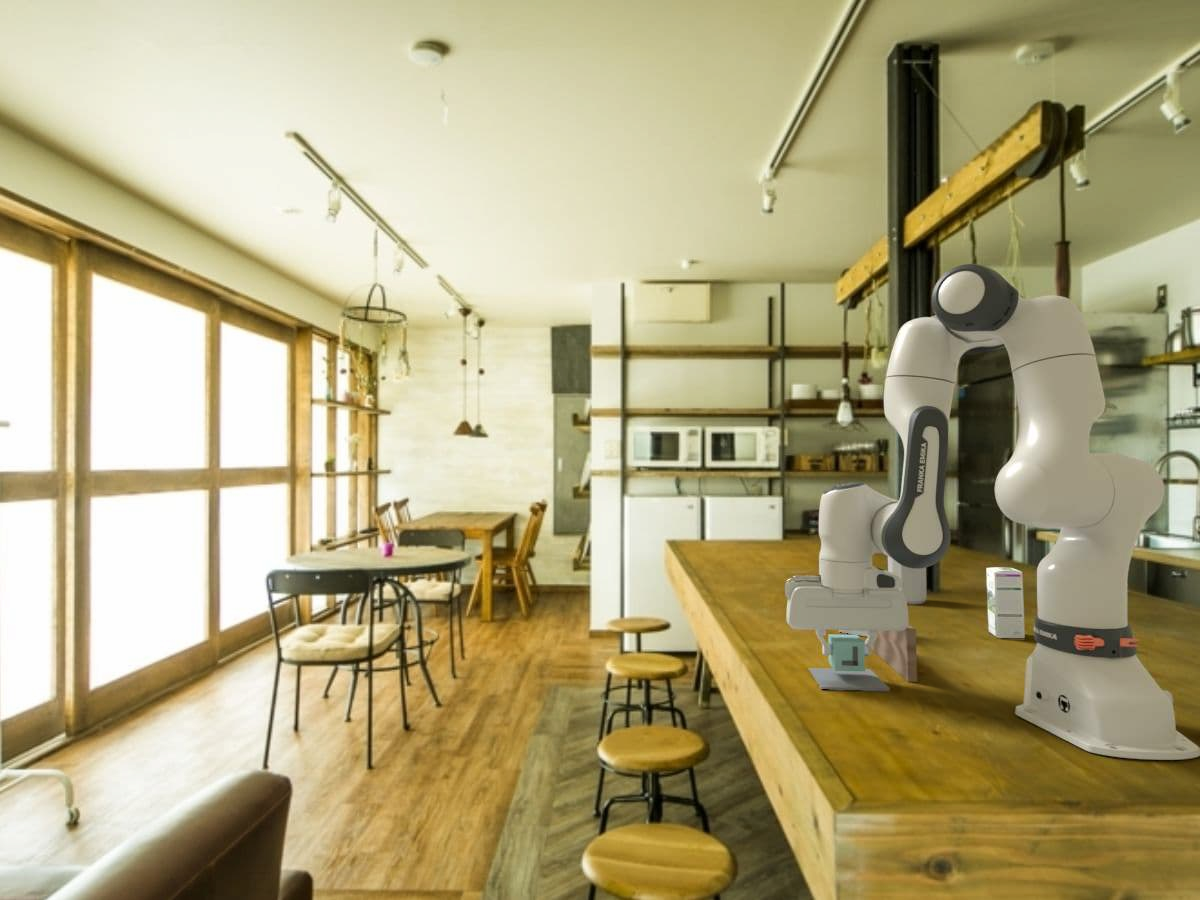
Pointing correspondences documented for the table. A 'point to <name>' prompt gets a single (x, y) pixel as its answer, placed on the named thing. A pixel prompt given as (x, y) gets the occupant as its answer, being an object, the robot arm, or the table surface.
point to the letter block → (847, 652)
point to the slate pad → (848, 680)
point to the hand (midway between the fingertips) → (846, 654)
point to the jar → (910, 581)
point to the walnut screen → (898, 651)
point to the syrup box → (1005, 602)
